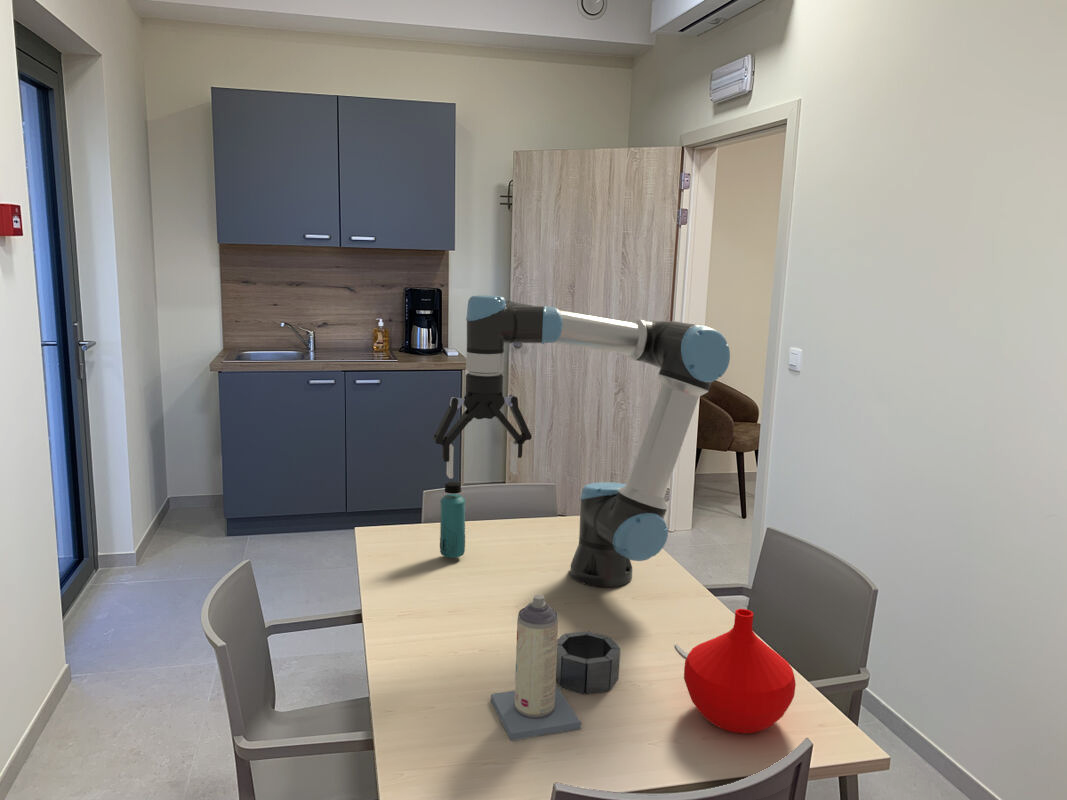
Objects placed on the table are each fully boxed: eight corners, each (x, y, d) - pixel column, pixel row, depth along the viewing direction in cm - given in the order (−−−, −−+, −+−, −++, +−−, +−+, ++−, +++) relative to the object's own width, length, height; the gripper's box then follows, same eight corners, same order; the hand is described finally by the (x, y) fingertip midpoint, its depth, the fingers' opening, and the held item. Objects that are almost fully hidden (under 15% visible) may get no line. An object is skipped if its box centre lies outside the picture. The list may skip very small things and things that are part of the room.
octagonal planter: (601, 657, 154) (602, 628, 153) (626, 688, 143) (628, 657, 142) (545, 665, 150) (546, 636, 149) (567, 697, 139) (568, 666, 138)
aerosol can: (528, 692, 138) (531, 584, 135) (562, 704, 135) (566, 594, 131) (506, 710, 133) (510, 598, 129) (541, 723, 129) (545, 609, 126)
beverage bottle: (470, 557, 202) (471, 482, 198) (454, 565, 196) (455, 488, 193) (450, 551, 205) (451, 477, 201) (433, 559, 200) (434, 483, 196)
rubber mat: (555, 690, 142) (555, 684, 141) (580, 728, 130) (580, 721, 130) (490, 700, 138) (491, 694, 137) (511, 740, 126) (511, 733, 126)
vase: (660, 699, 140) (667, 598, 137) (744, 680, 147) (753, 584, 144) (723, 760, 123) (733, 646, 120) (814, 735, 131) (826, 628, 127)
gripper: (537, 369, 166) (533, 466, 170) (419, 371, 158) (418, 473, 162) (549, 374, 159) (545, 476, 163) (426, 376, 151) (425, 483, 155)
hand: (482, 474), depth 163 cm, fingers open, 13 cm apart
